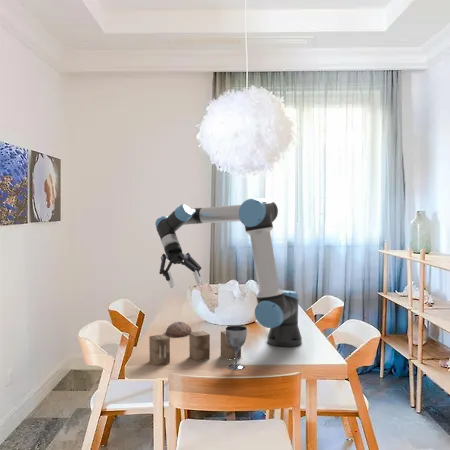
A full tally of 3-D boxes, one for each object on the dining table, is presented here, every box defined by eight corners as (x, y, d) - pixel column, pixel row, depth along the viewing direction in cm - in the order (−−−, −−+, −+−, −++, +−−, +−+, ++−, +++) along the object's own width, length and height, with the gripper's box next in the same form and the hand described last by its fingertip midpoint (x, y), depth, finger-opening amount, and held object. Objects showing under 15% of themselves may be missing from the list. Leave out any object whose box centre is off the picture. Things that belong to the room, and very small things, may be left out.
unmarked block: (202, 354, 195) (202, 330, 194) (209, 359, 190) (209, 334, 189) (189, 357, 192) (189, 332, 191) (196, 361, 187) (196, 336, 186)
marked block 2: (233, 353, 196) (233, 329, 196) (241, 357, 191) (241, 333, 191) (220, 355, 193) (220, 331, 193) (228, 360, 188) (228, 335, 188)
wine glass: (249, 369, 178) (249, 330, 177) (229, 371, 176) (229, 331, 175) (242, 362, 186) (242, 324, 185) (223, 364, 184) (223, 326, 183)
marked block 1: (163, 358, 190) (163, 333, 189) (170, 363, 184) (169, 337, 184) (149, 361, 187) (149, 336, 186) (155, 366, 181) (155, 340, 181)
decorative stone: (172, 339, 217) (172, 327, 217) (162, 332, 227) (162, 321, 227) (195, 335, 223) (195, 323, 223) (184, 328, 234) (184, 317, 233)
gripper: (192, 250, 228) (207, 287, 217) (144, 252, 214) (157, 292, 203) (198, 240, 223) (214, 278, 212) (149, 241, 209) (163, 282, 198)
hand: (186, 285), depth 207 cm, fingers open, 13 cm apart
